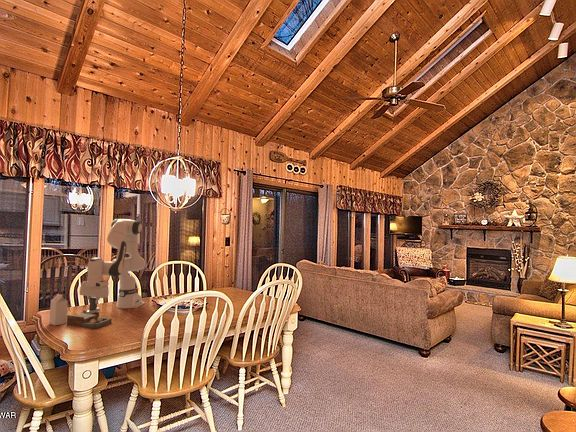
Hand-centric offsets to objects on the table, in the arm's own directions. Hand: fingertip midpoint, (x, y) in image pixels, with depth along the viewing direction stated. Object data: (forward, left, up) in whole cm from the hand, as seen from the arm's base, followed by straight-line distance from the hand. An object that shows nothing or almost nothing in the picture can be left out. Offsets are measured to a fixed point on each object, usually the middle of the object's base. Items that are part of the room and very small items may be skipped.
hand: (93, 303), depth 227 cm
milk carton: (+6, -21, -14) cm, 26 cm away
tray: (0, +4, -14) cm, 14 cm away
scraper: (0, 0, -6) cm, 6 cm away
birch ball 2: (-3, +3, -11) cm, 12 cm away
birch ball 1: (+3, +3, -11) cm, 12 cm away
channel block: (0, -7, -14) cm, 16 cm away
